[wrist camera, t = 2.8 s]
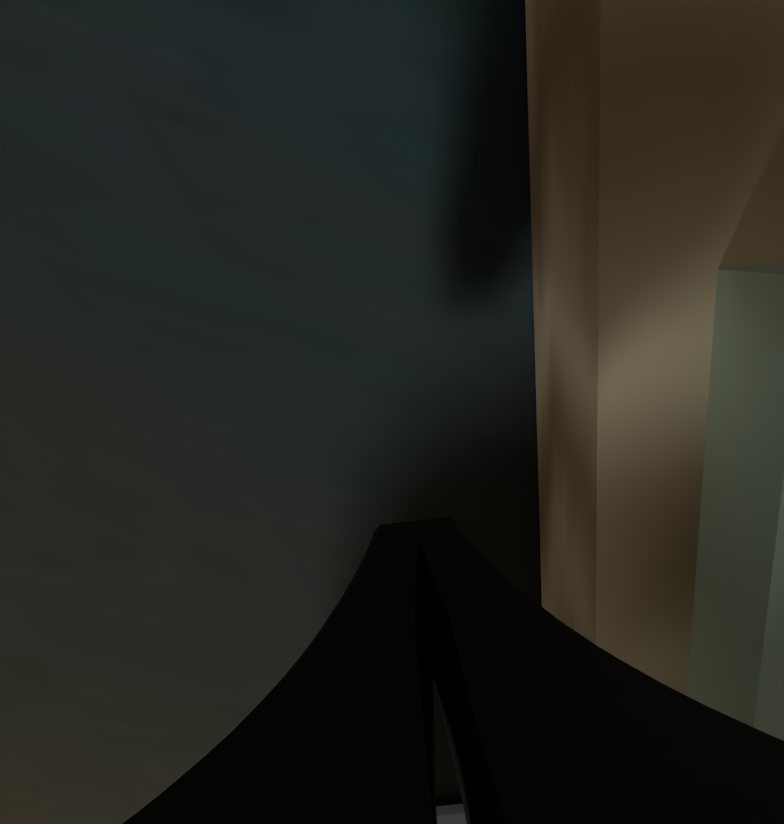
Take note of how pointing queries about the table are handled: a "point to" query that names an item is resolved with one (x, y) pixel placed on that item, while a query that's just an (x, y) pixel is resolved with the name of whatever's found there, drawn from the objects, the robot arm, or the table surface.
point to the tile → (743, 507)
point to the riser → (640, 289)
